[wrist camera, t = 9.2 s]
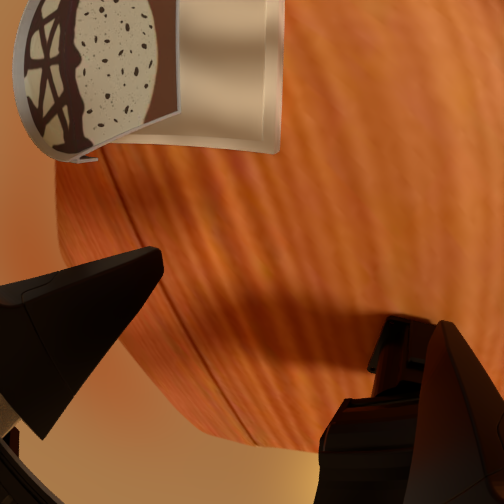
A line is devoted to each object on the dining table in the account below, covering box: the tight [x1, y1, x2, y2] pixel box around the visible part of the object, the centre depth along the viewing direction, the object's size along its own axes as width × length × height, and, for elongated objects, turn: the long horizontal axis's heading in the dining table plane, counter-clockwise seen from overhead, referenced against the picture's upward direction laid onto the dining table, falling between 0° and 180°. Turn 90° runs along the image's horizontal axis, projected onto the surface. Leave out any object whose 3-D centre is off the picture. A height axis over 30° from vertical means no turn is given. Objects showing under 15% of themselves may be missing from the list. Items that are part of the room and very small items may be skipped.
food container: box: [12, 0, 181, 163], centre depth 15 cm, size 12×6×10 cm, turn 1°
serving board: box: [110, 0, 285, 154], centre depth 19 cm, size 16×16×2 cm
